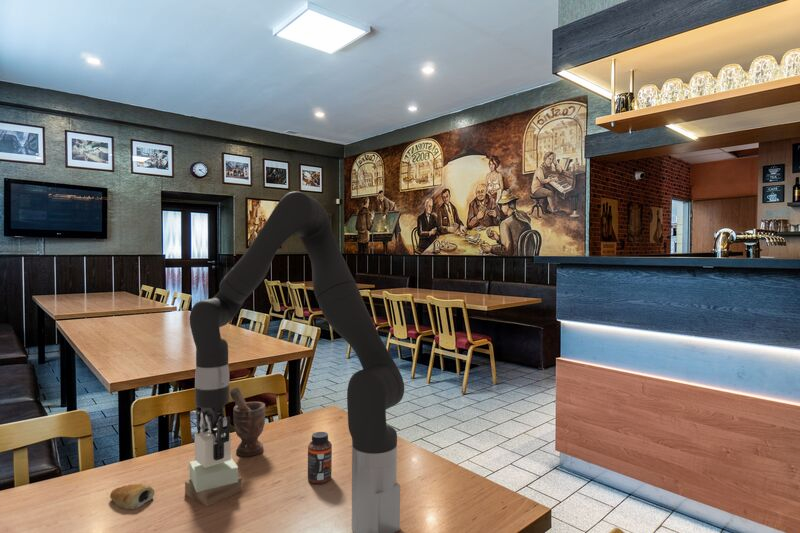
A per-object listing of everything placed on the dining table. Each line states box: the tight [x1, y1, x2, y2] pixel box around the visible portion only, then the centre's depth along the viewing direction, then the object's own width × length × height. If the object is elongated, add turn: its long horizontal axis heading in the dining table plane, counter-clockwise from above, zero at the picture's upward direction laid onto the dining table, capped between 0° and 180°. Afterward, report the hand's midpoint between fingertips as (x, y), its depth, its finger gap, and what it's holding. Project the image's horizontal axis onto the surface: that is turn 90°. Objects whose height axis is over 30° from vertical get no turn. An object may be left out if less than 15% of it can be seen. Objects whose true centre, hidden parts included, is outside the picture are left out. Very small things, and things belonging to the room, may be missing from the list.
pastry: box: [109, 483, 155, 510], centre depth 106 cm, size 9×7×4 cm
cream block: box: [194, 428, 232, 468], centre depth 110 cm, size 6×6×6 cm
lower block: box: [184, 475, 243, 508], centre depth 110 cm, size 9×9×4 cm
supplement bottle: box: [307, 431, 333, 485], centre depth 117 cm, size 6×6×11 cm
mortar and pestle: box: [229, 387, 266, 458], centre depth 131 cm, size 12×9×20 cm
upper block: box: [188, 457, 239, 492], centre depth 110 cm, size 9×9×4 cm
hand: (212, 454), depth 110 cm, fingers closed on cream block, 6 cm apart
